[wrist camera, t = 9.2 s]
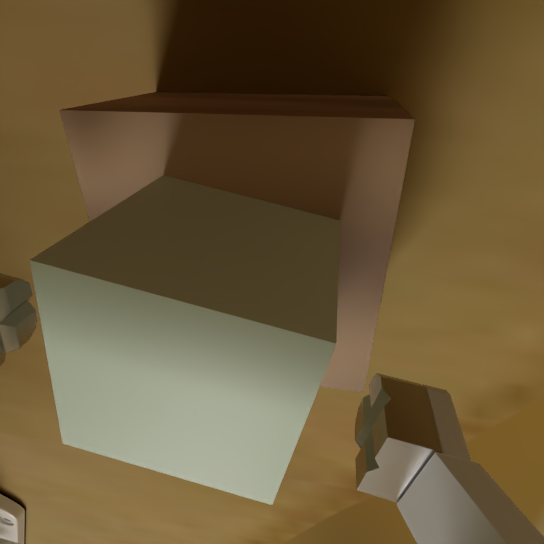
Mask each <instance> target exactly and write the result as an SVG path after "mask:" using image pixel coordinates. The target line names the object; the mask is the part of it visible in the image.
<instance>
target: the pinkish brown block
mask: <svg viewBox="0 0 544 544" xmlns="http://www.w3.org/2000/svg"><path fill="white" fill-rule="evenodd" d="M60 114H61V117H62V121H63V125H64V129H65V132H66V136H67V140H68V143H69V147H70V151H71V154H72V158H73V162H74V165H75V169H76V173H77V176H78V180H79V184H80V187H81V191H82V195H83V198H84V202H85V206H86V209H87V213H88V217H89V220H90V221H92V220H94V219H95V218H97V217H98V216H100V215H101V214H103V213H105V212H106V211H108V210H109V209H111V208H112V207H114V206H116V205H117V204H119V203H120V202H122V201H123V200H125V199H127V198H128V197H130V196H131V195H133V194H134V193H136V192H138V191H139V190H141V189H142V188H144V187H145V186H147V185H149V184H150V183H152V182H153V181H155V180H156V179H158V178H160V177H161V176H163V175H165V176H169V177H173V178H177V179H181V180H185V181H188V182H192V183H196V184H200V185H204V186H208V187H212V188H216V189H220V190H223V191H227V192H231V193H235V194H239V195H243V196H247V197H251V198H255V199H259V200H262V201H266V202H270V203H274V204H278V205H282V206H286V207H290V208H294V209H298V210H301V211H305V212H309V213H313V214H317V215H321V216H325V217H329V218H333V219H337V220H340V240H339V273H338V307H337V340H336V346H335V348H334V351H333V353H332V356H331V358H330V361H329V363H328V366H327V368H326V371H325V373H324V376H323V379H322V381H321V384H320V386H319V387H326V388H333V389H341V390H348V391H355V392H363V393H364V388H365V383H366V378H367V372H368V367H369V362H370V356H371V351H372V346H373V340H374V335H375V330H376V325H377V319H378V314H379V309H380V303H381V298H382V293H383V287H384V282H385V277H386V271H387V266H388V261H389V256H390V250H391V245H392V240H393V234H394V229H395V224H396V218H397V213H398V208H399V202H400V197H401V192H402V186H403V181H404V176H405V171H406V165H407V160H408V155H409V149H410V144H411V139H412V133H413V128H414V123H415V119H414V118H413V117H412V116H411V115H410V114H409V113H408V112H406V111H405V110H404V109H403V108H402V107H401V106H400V105H399V104H397V103H396V102H395V101H394V100H393V99H392V98H391V97H390V96H355V95H297V94H239V93H182V92H154V93H148V94H143V95H138V96H132V97H127V98H122V99H116V100H111V101H105V102H100V103H95V104H89V105H84V106H78V107H73V108H68V109H62V110H60Z"/></svg>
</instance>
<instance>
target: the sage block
mask: <svg viewBox="0 0 544 544" xmlns="http://www.w3.org/2000/svg"><path fill="white" fill-rule="evenodd" d="M339 240H340V220H337V219H333V218H329V217H325V216H321V215H317V214H313V213H309V212H305V211H301V210H298V209H294V208H290V207H286V206H282V205H278V204H274V203H270V202H266V201H262V200H259V199H255V198H251V197H247V196H243V195H239V194H235V193H231V192H227V191H223V190H220V189H216V188H212V187H208V186H204V185H200V184H196V183H192V182H188V181H185V180H181V179H177V178H173V177H169V176H165V175H163V176H161V177H160V178H158V179H156V180H155V181H153V182H152V183H150V184H149V185H147V186H145V187H144V188H142V189H141V190H139V191H138V192H136V193H134V194H133V195H131V196H130V197H128V198H127V199H125V200H123V201H122V202H120V203H119V204H117V205H116V206H114V207H112V208H111V209H109V210H108V211H106V212H105V213H103V214H101V215H100V216H98V217H97V218H95V219H94V220H92V221H90V222H89V223H87V224H86V225H84V226H83V227H81V228H79V229H78V230H76V231H75V232H73V233H72V234H70V235H68V236H67V237H65V238H64V239H62V240H61V241H59V242H57V243H56V244H54V245H53V246H51V247H50V248H48V249H46V250H45V251H43V252H42V253H40V254H39V255H37V256H35V257H34V258H32V259H31V260H30V265H31V270H32V276H33V281H34V287H35V292H36V298H37V304H38V309H39V315H40V320H41V326H42V331H43V337H44V342H45V348H46V353H47V359H48V364H49V370H50V375H51V381H52V387H53V392H54V398H55V403H56V409H57V414H58V420H59V425H60V431H61V436H62V442H63V444H66V445H70V446H73V447H76V448H80V449H83V450H87V451H90V452H93V453H97V454H100V455H104V456H107V457H110V458H114V459H117V460H121V461H124V462H127V463H131V464H134V465H138V466H141V467H144V468H148V469H151V470H155V471H158V472H161V473H165V474H168V475H171V476H175V477H178V478H182V479H185V480H188V481H192V482H195V483H199V484H202V485H205V486H209V487H212V488H216V489H219V490H222V491H226V492H229V493H233V494H236V495H239V496H243V497H246V498H250V499H253V500H256V501H260V502H263V503H267V504H270V505H272V504H273V502H274V499H275V496H276V494H277V491H278V489H279V486H280V484H281V481H282V479H283V476H284V474H285V471H286V469H287V466H288V464H289V461H290V459H291V456H292V454H293V451H294V449H295V446H296V444H297V441H298V439H299V436H300V434H301V431H302V429H303V426H304V424H305V421H306V419H307V416H308V414H309V411H310V409H311V406H312V404H313V401H314V399H315V396H316V394H317V391H318V389H319V386H320V384H321V381H322V379H323V376H324V373H325V371H326V368H327V366H328V363H329V361H330V358H331V356H332V353H333V351H334V348H335V346H336V340H337V307H338V273H339Z"/></svg>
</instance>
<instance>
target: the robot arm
mask: <svg viewBox="0 0 544 544" xmlns="http://www.w3.org/2000/svg"><path fill="white" fill-rule="evenodd" d="M31 296H32V291H31V288H30V284H29V283H28V282H26V281H24V280H22V279H19V278H15V277H12V276H8V275H5V274H1V273H0V365H1V364H3V363H4V361H5V355H6V353H8V352H10V351H13V350H16V349H18V348H20V347H21V346H23V345H24V344H25V343H26V342H27V341H28V340H29V339H30V337H31V335H32V334H33V332H34V330H35V328H36V322H37V315H36V310H35V309H34V308H33V306H32V305H31V304H30V303H29V302H28V300H29V299H30V298H31ZM369 386H370V395H368V396H366V397H364V398H363V399H362V401H361V404H360V406H359V408H358V412H357V417H356V422H355V441H356V442H357V444H358V445H359V447H360V448H361V450H360V451H359V453H358V455H357V457H356V487H357V490H359V491H362V492H365V493H368V494H371V495H375V496H378V497H381V498H384V499H388V500H391V501H394V502H397V506H398V508H399V510H400V512H401V514H402V516H403V518H404V519H405V521H406V523H407V525H408V527H409V529H410V531H411V533H412V535H413V536H414V539H415V540H416V542H417V544H544V537H543V535H542V534H541V533H540V532H539V531H538V530H537V529H536V528H535V526H534V525H533V524H532V523H531V522H530V521H529V520H528V519H527V517H526V516H525V515H524V514H523V513H522V512H521V511H520V510H519V508H518V507H517V506H516V505H515V504H514V503H513V501H512V500H511V499H510V498H509V497H508V496H507V495H506V493H505V492H504V491H503V490H502V489H501V488H500V487H499V486H498V485H497V483H496V482H495V481H494V480H493V479H492V478H491V476H490V475H489V474H488V473H487V472H486V471H485V470H484V469H483V468H482V466H481V465H480V464H478V463H475V462H472V461H471V458H470V455H469V452H468V449H467V445H466V442H465V439H464V436H463V433H462V430H461V427H460V424H459V421H458V418H457V415H456V411H455V408H454V405H453V402H452V399H451V396H450V394H449V393H448V392H447V391H446V390H443V389H439V388H435V387H431V386H427V385H421V384H418V383H414V382H410V381H406V380H402V379H398V378H394V377H390V376H386V375H382V374H379V373H377V374H376V375H375V376H374V377H373V379H372V381H371V383H370V384H369ZM24 530H25V510H24V509H23V508H22V507H21V506H20V505H19V504H17V503H16V502H14V501H12V500H10V499H9V498H7V497H5V496H3V495H1V494H0V544H24Z"/></svg>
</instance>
